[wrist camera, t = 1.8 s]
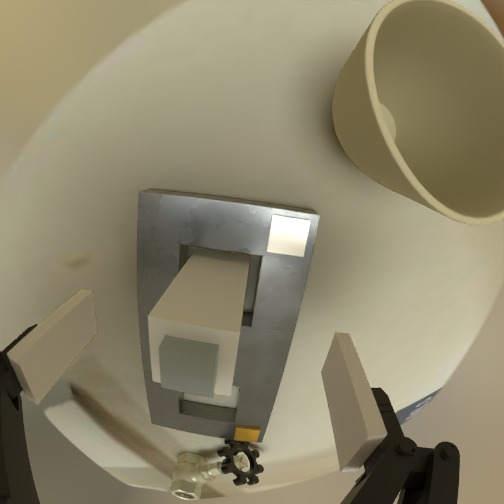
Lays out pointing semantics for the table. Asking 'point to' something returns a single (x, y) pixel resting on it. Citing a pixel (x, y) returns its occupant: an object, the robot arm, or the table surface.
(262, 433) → the grey slotted tray
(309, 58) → the table surface
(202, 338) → the plug
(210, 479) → the valve
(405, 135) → the mug
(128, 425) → the table surface
